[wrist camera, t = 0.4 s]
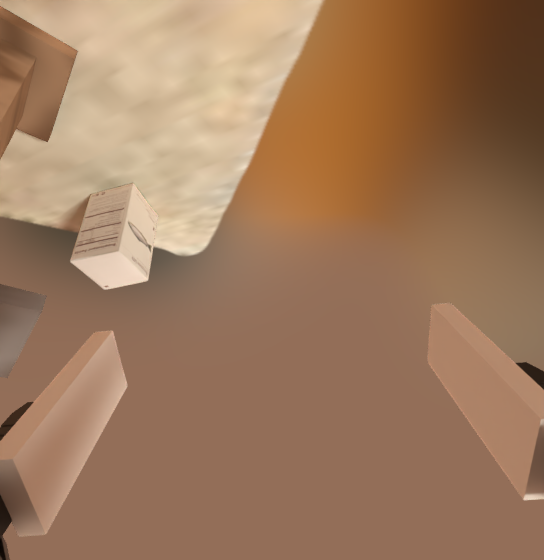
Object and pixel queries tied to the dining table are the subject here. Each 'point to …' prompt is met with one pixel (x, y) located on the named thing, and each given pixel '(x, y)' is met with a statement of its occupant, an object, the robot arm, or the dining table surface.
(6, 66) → the shelf stand
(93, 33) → the dining table surface
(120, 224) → the supplement box
